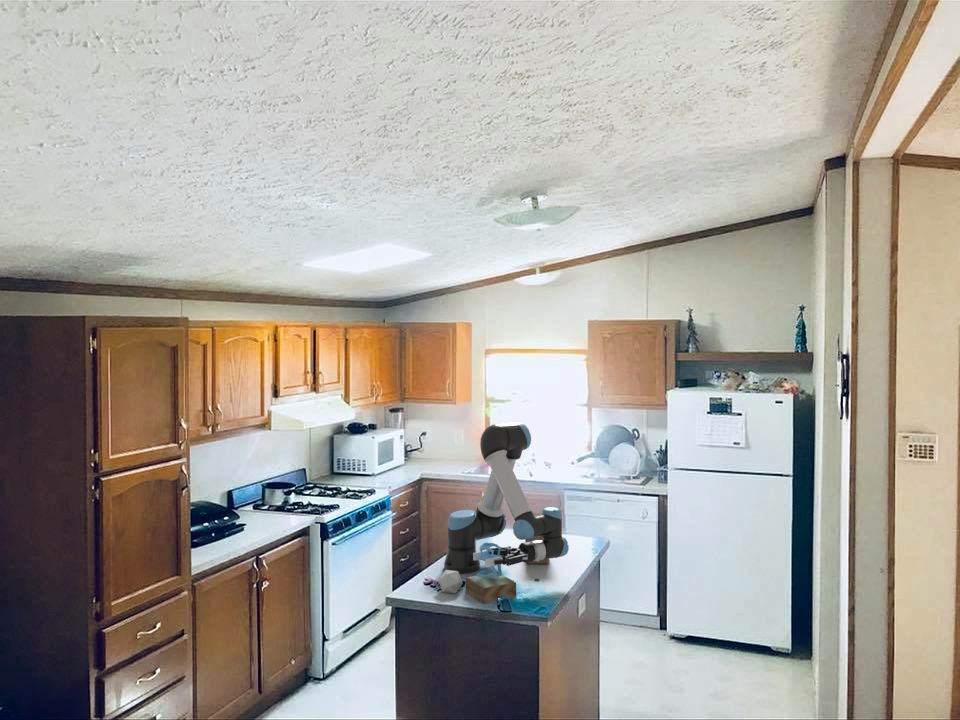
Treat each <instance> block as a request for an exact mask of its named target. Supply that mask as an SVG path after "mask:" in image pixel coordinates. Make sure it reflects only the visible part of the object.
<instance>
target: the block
mask: <svg viewBox="0 0 960 720" xmlns="http://www.w3.org/2000/svg"><path fill="white" fill-rule="evenodd" d="M533 515H534V517H535V516H540V515H542V512H533ZM537 540H543V535H542V536H537V537H534V538H531V539H525V542H531V541H537ZM525 542H524V543H525ZM527 563H528V564H529V565H530V564H531V565H533V564H534V565H548V564H549V563H550V559H544V560H539V562H537V561H532V562H527ZM527 563H526V564H527Z"/></svg>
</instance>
